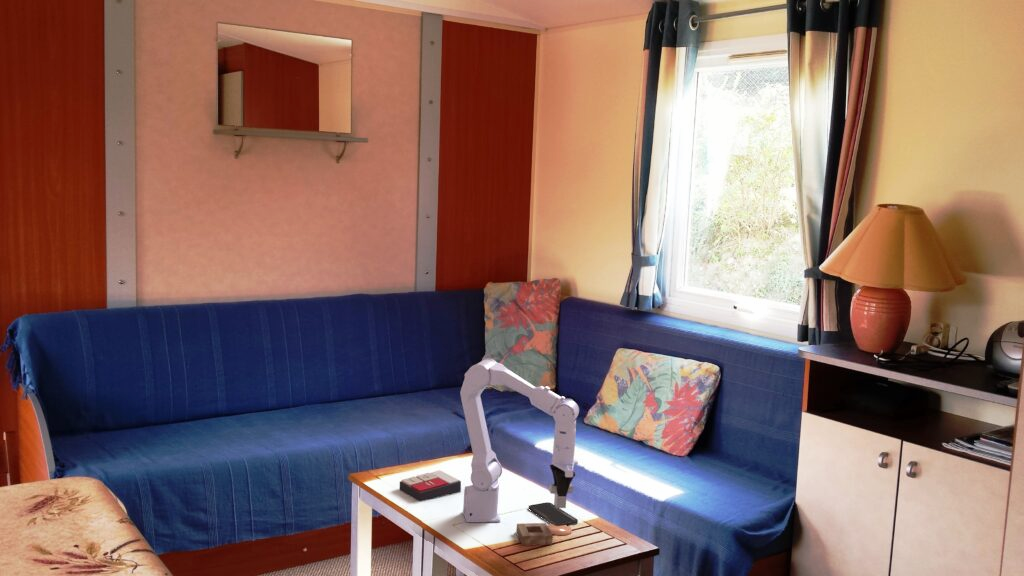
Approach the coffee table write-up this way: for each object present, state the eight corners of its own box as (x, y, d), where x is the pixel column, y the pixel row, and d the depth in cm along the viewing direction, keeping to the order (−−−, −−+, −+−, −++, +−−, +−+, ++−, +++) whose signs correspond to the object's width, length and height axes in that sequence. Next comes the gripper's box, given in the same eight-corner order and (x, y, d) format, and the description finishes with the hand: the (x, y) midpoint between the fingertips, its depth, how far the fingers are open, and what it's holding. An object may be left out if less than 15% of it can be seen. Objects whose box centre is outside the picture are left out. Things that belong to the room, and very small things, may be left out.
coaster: (549, 535, 239) (549, 534, 239) (543, 525, 246) (543, 523, 246) (574, 535, 240) (574, 533, 240) (567, 524, 247) (567, 523, 247)
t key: (550, 508, 240) (551, 486, 239) (547, 504, 242) (549, 483, 242) (571, 507, 241) (573, 486, 240) (569, 504, 244) (570, 483, 243)
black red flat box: (398, 479, 265) (440, 467, 274) (398, 492, 265) (440, 481, 275) (419, 490, 256) (461, 478, 266) (419, 504, 257) (461, 492, 267)
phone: (549, 501, 261) (579, 520, 248) (548, 505, 261) (579, 524, 249) (526, 505, 257) (556, 525, 244) (526, 509, 257) (556, 529, 244)
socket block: (522, 545, 232) (523, 536, 231) (516, 532, 240) (516, 523, 239) (552, 544, 233) (552, 535, 233) (545, 531, 241) (545, 523, 241)
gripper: (585, 453, 233) (582, 503, 235) (571, 436, 247) (568, 483, 249) (559, 454, 232) (556, 504, 234) (547, 436, 246) (543, 484, 248)
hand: (560, 493), depth 241 cm, fingers closed on t key, 3 cm apart
